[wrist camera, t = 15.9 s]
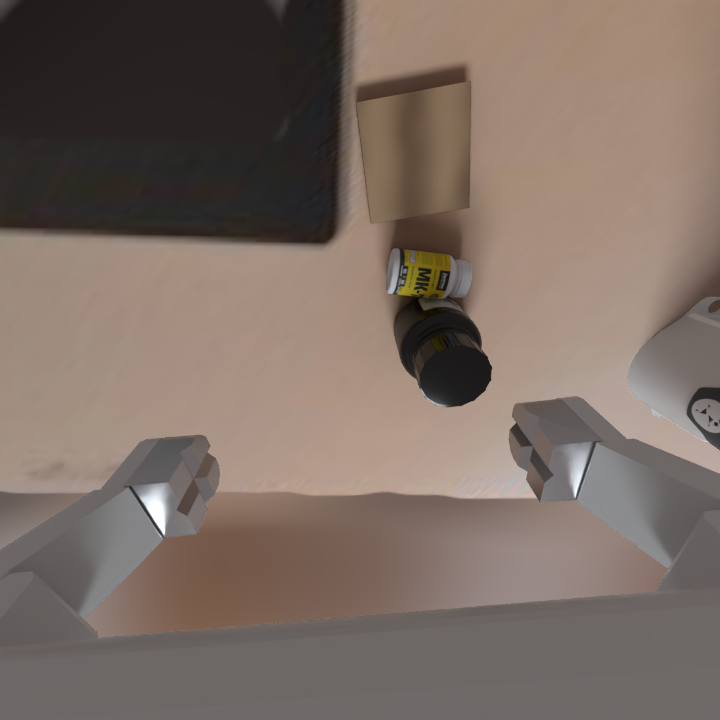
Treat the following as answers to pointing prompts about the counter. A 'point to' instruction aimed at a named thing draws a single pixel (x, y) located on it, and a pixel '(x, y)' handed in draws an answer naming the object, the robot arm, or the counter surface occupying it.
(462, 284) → the supplement bottle
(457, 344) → the ink bottle
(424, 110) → the tan slab
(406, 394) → the counter surface
